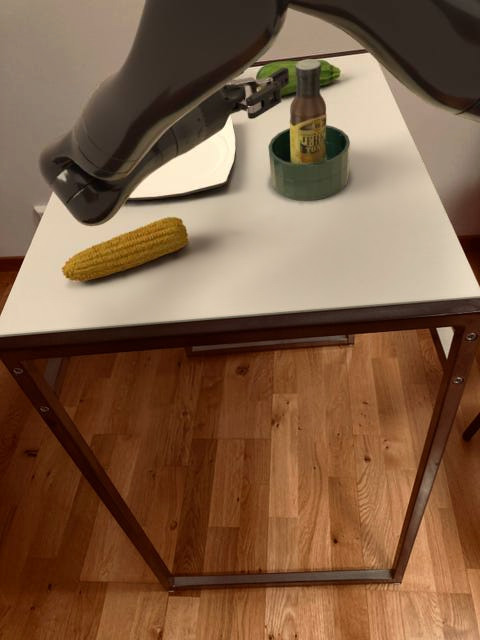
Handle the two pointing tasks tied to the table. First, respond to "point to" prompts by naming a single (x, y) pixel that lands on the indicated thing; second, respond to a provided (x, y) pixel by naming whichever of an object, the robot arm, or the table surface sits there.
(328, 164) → the pot
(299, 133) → the sauce bottle
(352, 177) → the table surface
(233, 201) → the table surface
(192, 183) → the plate
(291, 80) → the vegetable
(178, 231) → the food
